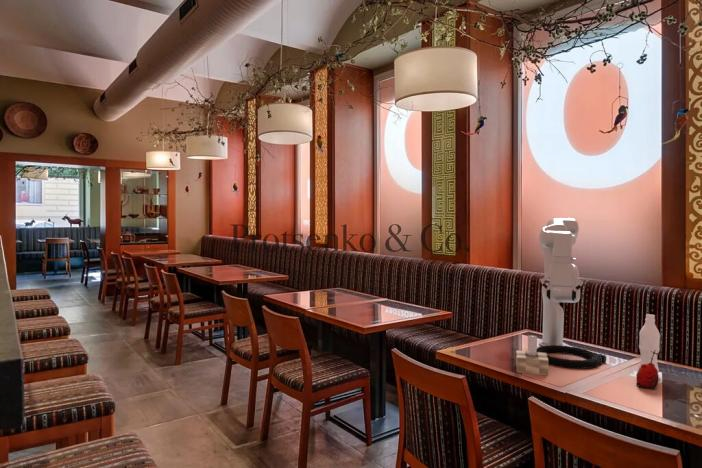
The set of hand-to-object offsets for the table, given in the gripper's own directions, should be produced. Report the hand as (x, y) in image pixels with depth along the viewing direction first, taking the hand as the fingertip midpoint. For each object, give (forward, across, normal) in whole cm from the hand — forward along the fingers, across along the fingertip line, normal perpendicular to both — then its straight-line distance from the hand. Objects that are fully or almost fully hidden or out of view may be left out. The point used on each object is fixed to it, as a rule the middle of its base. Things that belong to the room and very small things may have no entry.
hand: (561, 299), depth 209 cm
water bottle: (+28, -33, +5) cm, 44 cm away
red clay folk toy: (+29, -29, +20) cm, 45 cm away
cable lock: (+29, -5, -8) cm, 30 cm away
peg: (+28, +12, +13) cm, 33 cm away
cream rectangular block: (+28, +12, +13) cm, 33 cm away
